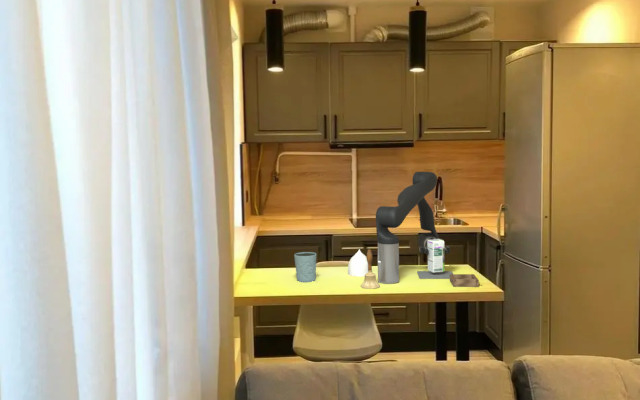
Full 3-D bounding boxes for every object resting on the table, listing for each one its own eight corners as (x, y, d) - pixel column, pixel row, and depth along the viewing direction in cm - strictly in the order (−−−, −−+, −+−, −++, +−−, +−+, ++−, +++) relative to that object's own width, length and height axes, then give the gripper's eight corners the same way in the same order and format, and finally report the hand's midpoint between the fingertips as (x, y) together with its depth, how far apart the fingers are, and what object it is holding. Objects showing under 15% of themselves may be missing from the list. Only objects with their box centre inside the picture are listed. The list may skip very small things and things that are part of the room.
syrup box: (433, 272, 250) (433, 241, 248) (427, 270, 255) (427, 239, 254) (444, 271, 251) (444, 240, 250) (438, 269, 257) (438, 238, 256)
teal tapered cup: (314, 283, 244) (313, 256, 243) (292, 282, 246) (291, 255, 245) (319, 277, 254) (318, 251, 253) (297, 277, 256) (297, 251, 255)
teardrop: (372, 276, 255) (371, 250, 254) (348, 276, 255) (347, 251, 254) (370, 271, 266) (370, 246, 265) (347, 271, 266) (347, 246, 265)
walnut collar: (453, 286, 233) (453, 279, 233) (449, 280, 243) (449, 274, 243) (478, 286, 232) (478, 279, 232) (473, 280, 242) (473, 274, 242)
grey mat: (419, 278, 248) (419, 277, 248) (417, 272, 260) (417, 271, 260) (455, 278, 247) (455, 277, 247) (451, 272, 259) (451, 271, 259)
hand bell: (364, 289, 231) (364, 252, 230) (357, 285, 239) (357, 248, 238) (383, 287, 233) (382, 250, 232) (375, 283, 241) (375, 247, 240)
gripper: (417, 238, 267) (420, 244, 251) (447, 238, 266) (452, 244, 249) (417, 253, 268) (420, 260, 251) (447, 253, 266) (452, 260, 250)
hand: (436, 252), depth 250 cm, fingers closed on syrup box, 7 cm apart
